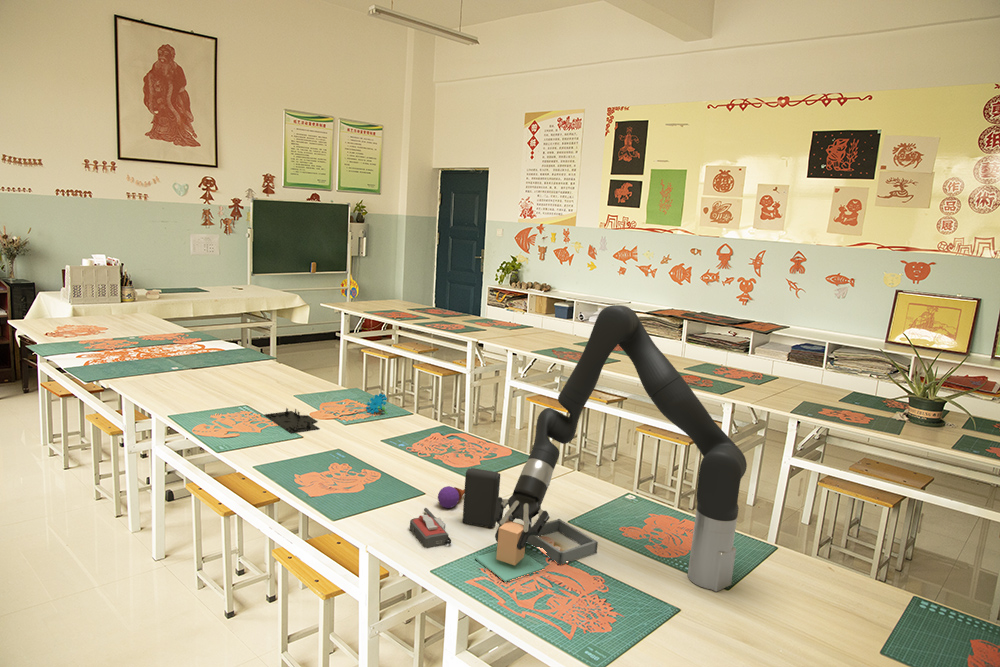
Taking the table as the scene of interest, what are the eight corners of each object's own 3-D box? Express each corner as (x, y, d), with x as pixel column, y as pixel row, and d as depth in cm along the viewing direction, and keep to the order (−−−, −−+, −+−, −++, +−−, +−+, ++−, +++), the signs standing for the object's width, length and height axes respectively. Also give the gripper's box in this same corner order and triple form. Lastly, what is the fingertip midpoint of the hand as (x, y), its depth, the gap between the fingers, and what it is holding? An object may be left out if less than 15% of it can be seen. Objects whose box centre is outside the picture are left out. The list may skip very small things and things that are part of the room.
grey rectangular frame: (596, 552, 164) (597, 541, 163) (560, 565, 156) (561, 553, 156) (558, 529, 175) (559, 518, 175) (522, 539, 168) (523, 528, 167)
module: (524, 556, 156) (527, 525, 154) (514, 565, 151) (517, 533, 150) (505, 550, 158) (508, 520, 157) (496, 559, 153) (498, 527, 152)
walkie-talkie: (458, 546, 162) (428, 512, 179) (460, 529, 162) (429, 497, 179) (426, 552, 158) (398, 517, 175) (427, 535, 157) (399, 502, 175)
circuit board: (264, 416, 252) (264, 409, 251) (299, 411, 261) (299, 404, 261) (290, 435, 233) (291, 427, 233) (327, 429, 243) (327, 421, 242)
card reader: (497, 523, 176) (502, 471, 173) (494, 529, 172) (498, 476, 169) (465, 517, 178) (469, 466, 175) (461, 523, 174) (465, 471, 171)
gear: (361, 405, 269) (378, 388, 271) (369, 414, 273) (386, 397, 275) (372, 416, 261) (390, 399, 263) (380, 424, 264) (398, 407, 267)
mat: (544, 569, 154) (545, 567, 154) (505, 583, 146) (505, 580, 146) (513, 547, 163) (513, 545, 163) (475, 559, 156) (475, 557, 156)
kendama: (493, 480, 195) (452, 494, 179) (488, 498, 197) (446, 514, 180) (478, 471, 199) (436, 484, 182) (473, 489, 200) (431, 503, 183)
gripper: (504, 467, 161) (477, 530, 153) (557, 481, 155) (531, 548, 146) (512, 480, 167) (486, 542, 158) (563, 495, 160) (539, 560, 152)
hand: (508, 544), depth 152 cm, fingers closed on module, 5 cm apart
